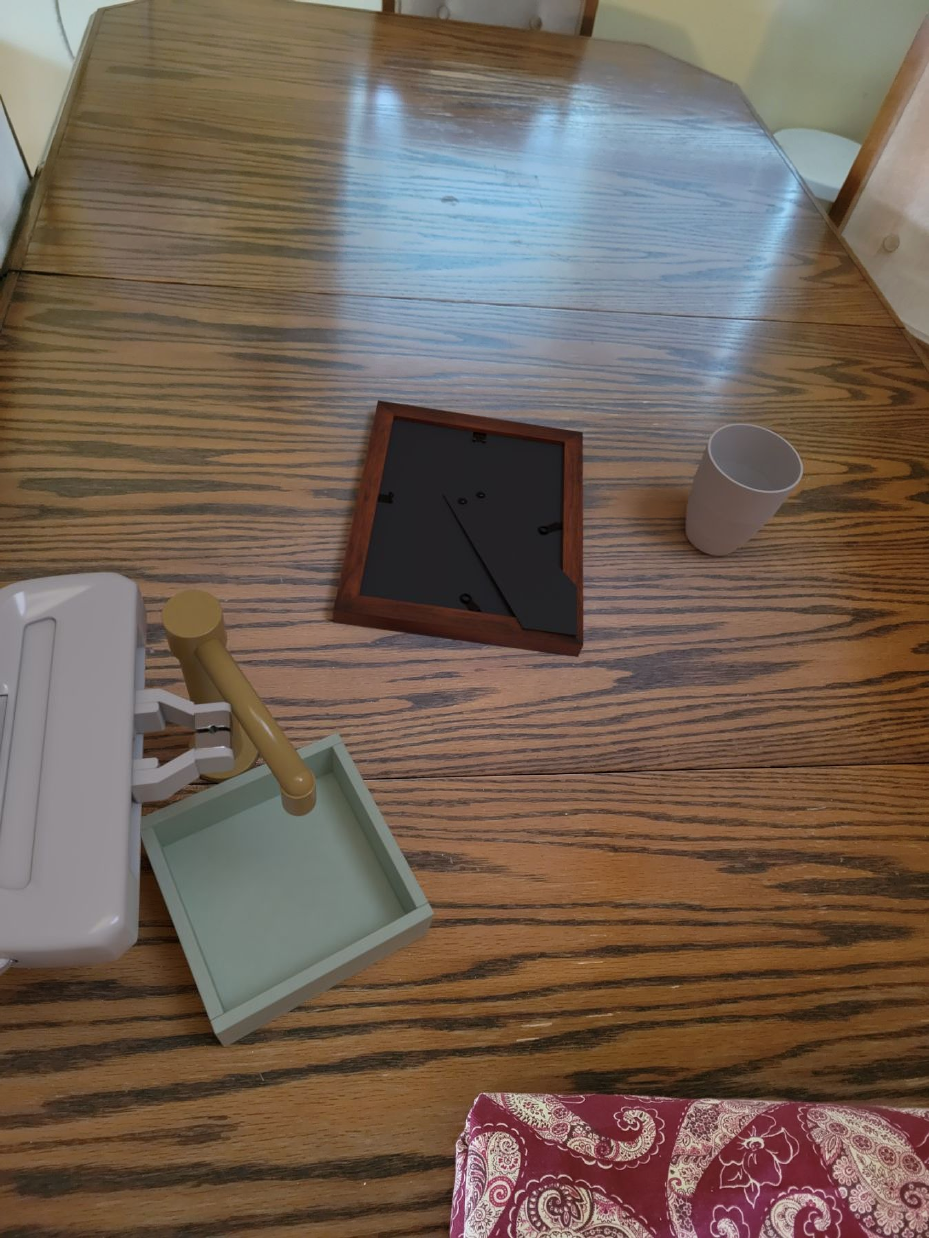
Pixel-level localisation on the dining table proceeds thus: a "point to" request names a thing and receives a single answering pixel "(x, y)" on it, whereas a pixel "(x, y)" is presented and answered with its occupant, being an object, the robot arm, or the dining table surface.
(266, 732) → the spout
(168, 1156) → the dining table surface
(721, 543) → the cup
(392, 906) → the sink
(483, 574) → the picture frame
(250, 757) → the faucet base
